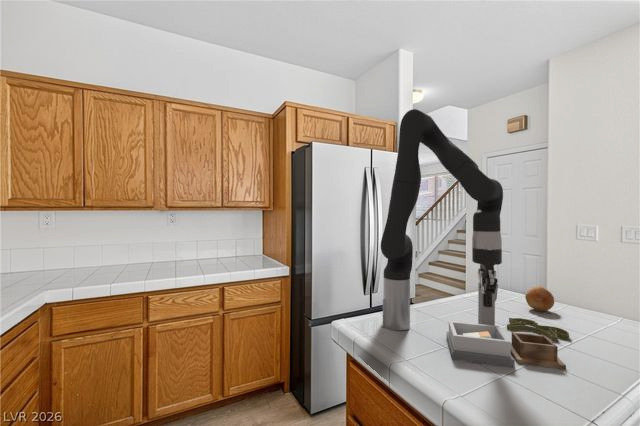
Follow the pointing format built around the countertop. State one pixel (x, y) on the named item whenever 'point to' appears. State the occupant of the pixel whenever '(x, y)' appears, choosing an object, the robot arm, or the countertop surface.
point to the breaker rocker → (479, 334)
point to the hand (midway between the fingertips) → (487, 306)
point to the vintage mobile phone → (486, 309)
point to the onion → (539, 299)
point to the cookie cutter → (538, 329)
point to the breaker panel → (479, 344)
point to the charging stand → (535, 350)
